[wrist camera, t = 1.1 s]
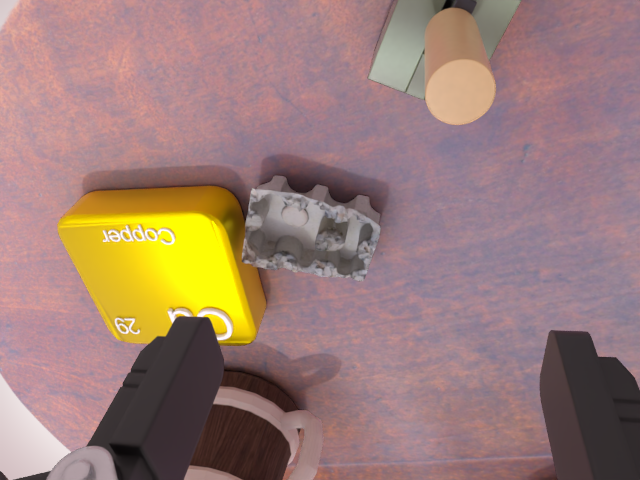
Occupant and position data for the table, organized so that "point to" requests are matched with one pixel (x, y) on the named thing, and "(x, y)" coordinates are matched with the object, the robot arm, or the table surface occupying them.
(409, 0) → the knife block
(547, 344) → the robot arm
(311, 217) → the egg carton
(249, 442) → the mug
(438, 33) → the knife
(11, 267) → the table surface
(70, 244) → the element tile
